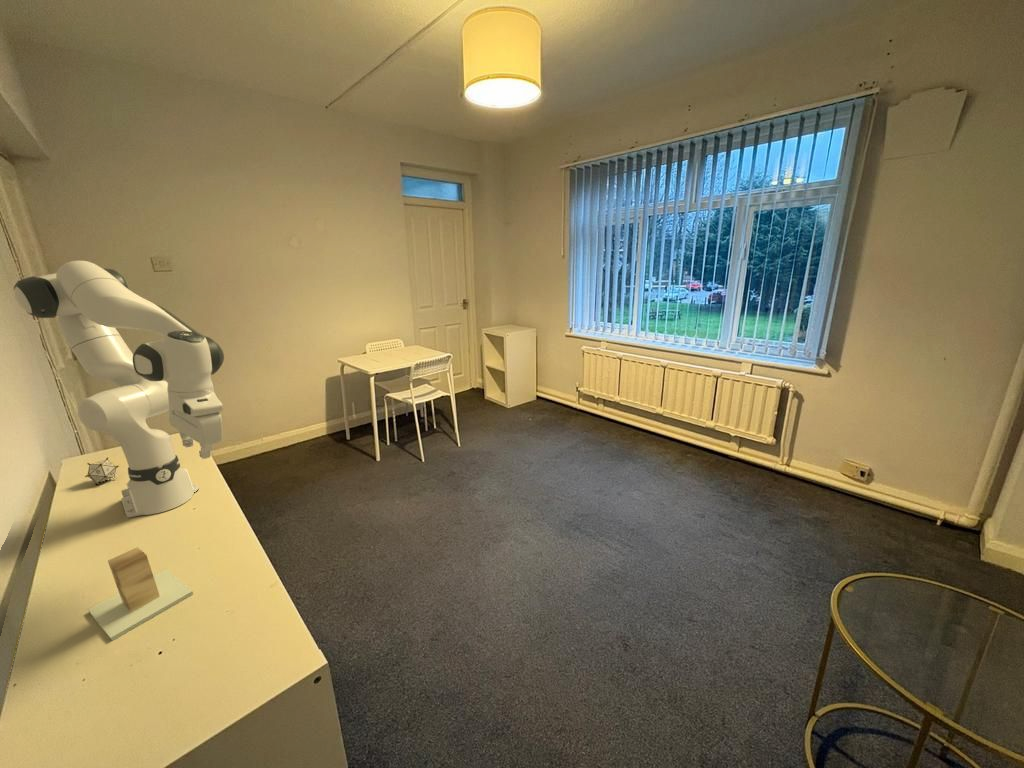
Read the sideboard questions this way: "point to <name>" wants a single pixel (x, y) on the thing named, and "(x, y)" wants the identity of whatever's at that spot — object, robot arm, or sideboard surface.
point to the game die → (101, 471)
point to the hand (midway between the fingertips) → (196, 451)
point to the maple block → (134, 578)
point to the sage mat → (122, 620)
